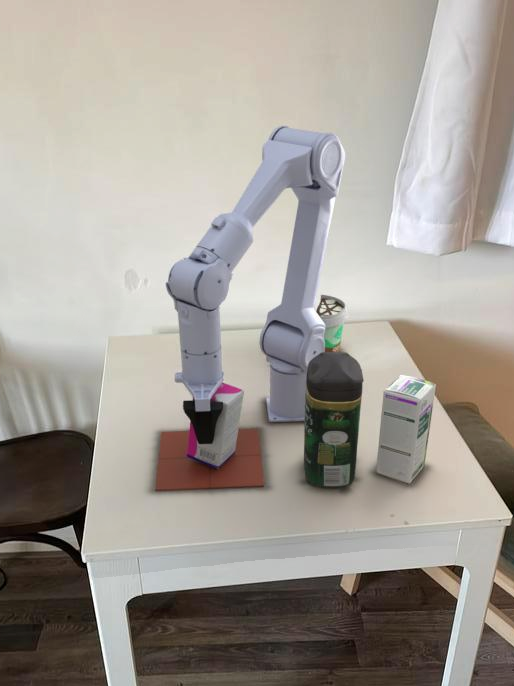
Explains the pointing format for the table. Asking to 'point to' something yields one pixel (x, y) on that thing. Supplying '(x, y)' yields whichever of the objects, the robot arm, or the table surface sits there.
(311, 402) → the coffee jar
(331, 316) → the food container
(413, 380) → the syrup box
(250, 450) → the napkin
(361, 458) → the table surface
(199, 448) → the supplement box
